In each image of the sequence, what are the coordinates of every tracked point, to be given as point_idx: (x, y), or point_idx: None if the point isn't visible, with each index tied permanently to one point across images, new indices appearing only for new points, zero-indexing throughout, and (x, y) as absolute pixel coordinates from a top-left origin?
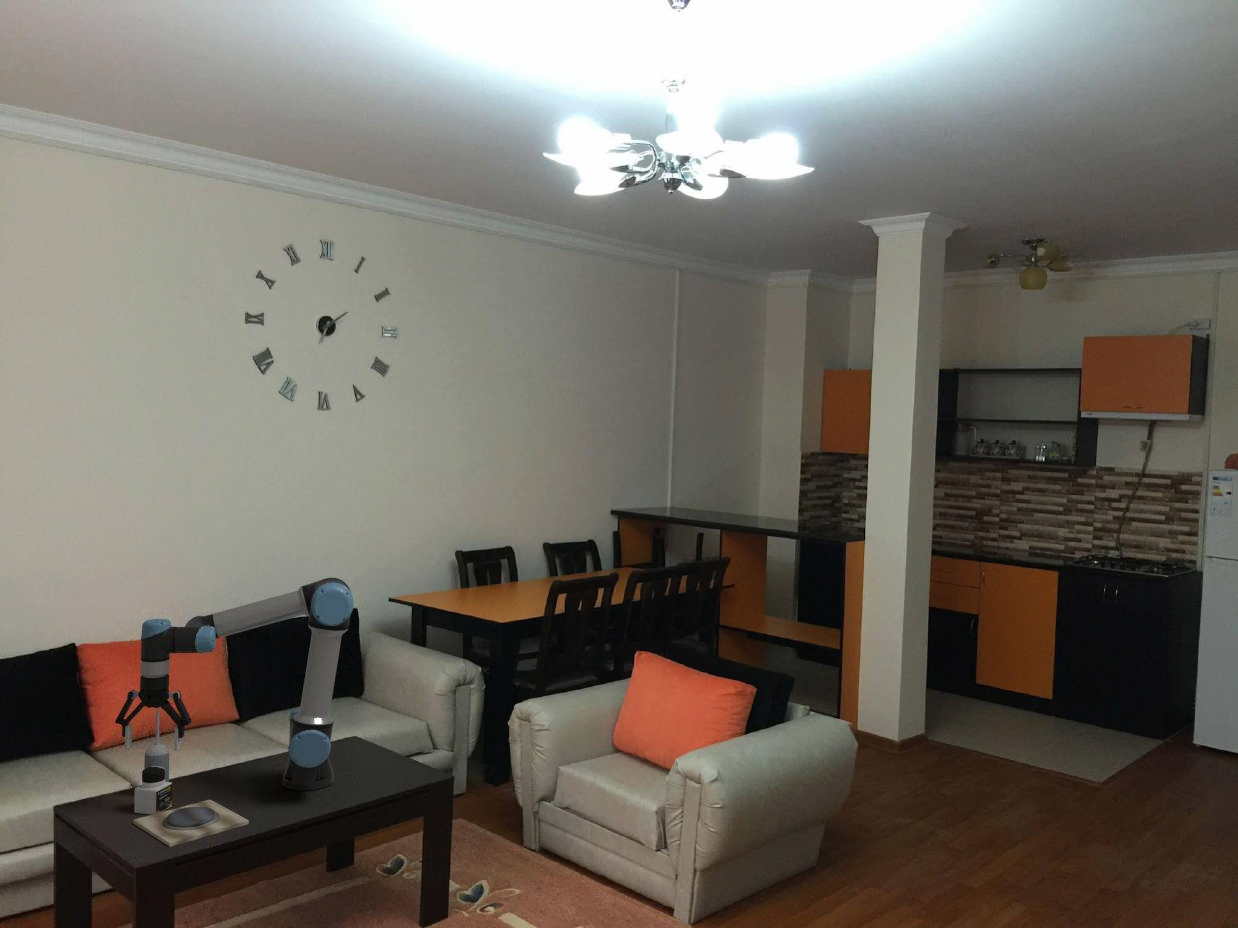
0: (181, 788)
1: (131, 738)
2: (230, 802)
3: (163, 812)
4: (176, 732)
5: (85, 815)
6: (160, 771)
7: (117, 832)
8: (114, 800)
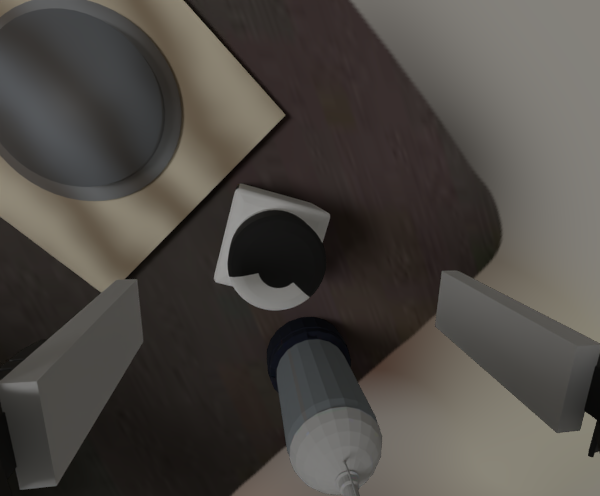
0: (249, 391)
1: (466, 348)
2: (42, 298)
3: (212, 178)
4: (49, 349)
5: (438, 181)
6: (237, 242)
7: (303, 35)
8: (398, 293)
